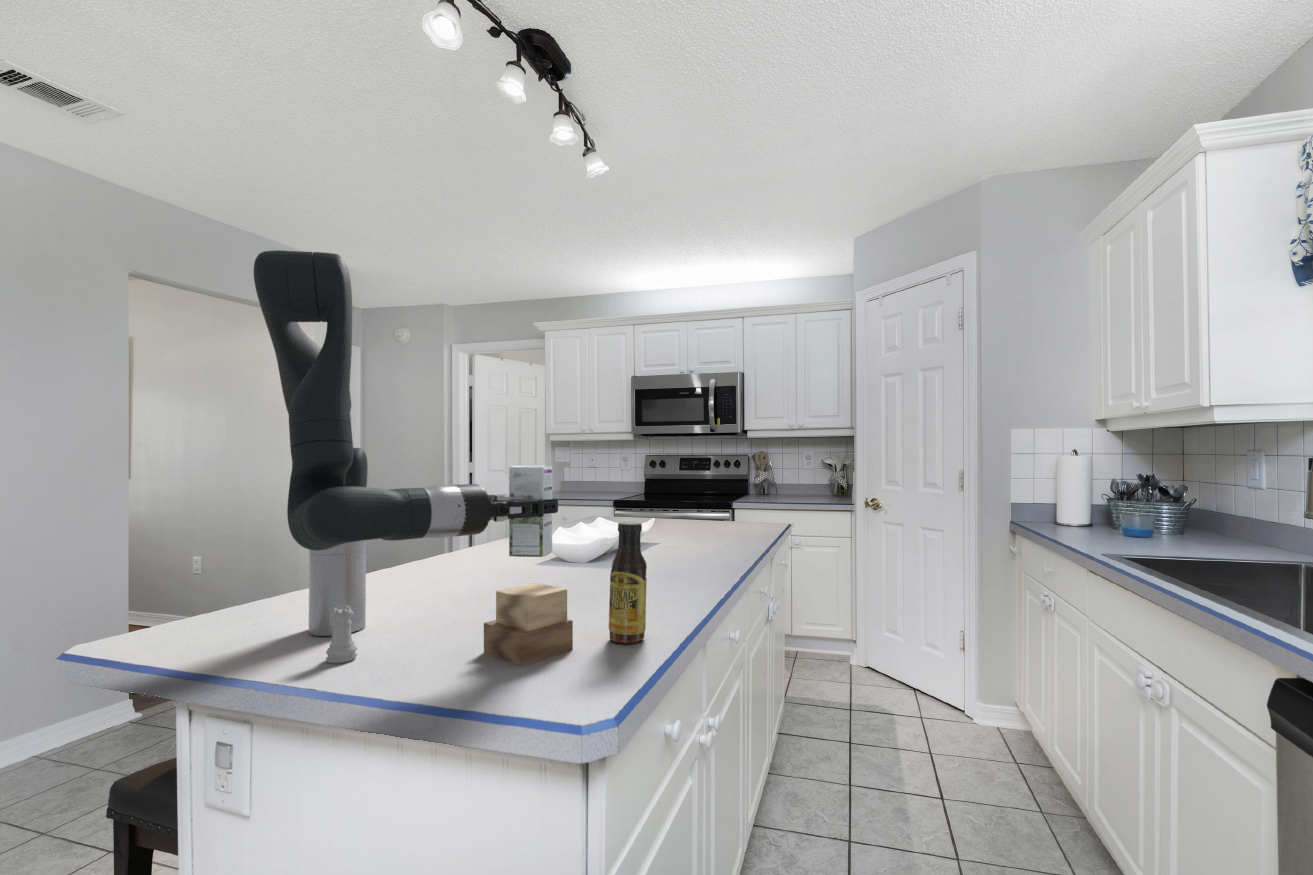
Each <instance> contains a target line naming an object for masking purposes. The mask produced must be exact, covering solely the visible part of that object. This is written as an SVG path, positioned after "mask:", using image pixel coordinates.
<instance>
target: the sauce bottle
mask: <svg viewBox="0 0 1313 875" xmlns="http://www.w3.org/2000/svg"><path fill="white" fill-rule="evenodd" d="M617 526H618V527H617V531H618V545H617V546H618V548H617V551H616V553H615V554H616V555H615V556H614V558H613V560H612V564H611V569H610V577H609V603H608V604H609V609H608V610H609V612H608V630H609V640H611V641H612V642H614V643H617V644H630V645H631V644H636V643H640V642H641V641H643V640H644V638H645V632H646V624H647V623H646V621H647V619H646V618H647V617H646V616H647V584H648V583H647V569H648V567H647V561H646V559H645V557H644V556H643V555H642V551H641V547H642V545H641V533H642V530H643V524H642V523H641V522H637V521H619V522H618V525H617Z"/></svg>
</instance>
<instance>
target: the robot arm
mask: <svg viewBox="0 0 1313 875" xmlns="http://www.w3.org/2000/svg"><path fill="white" fill-rule="evenodd" d="M350 275H351V274H350V271H349V268H348V265H347V263H346V261H345V259H344V257H342V255H340V254H337V253H331V252H321V251H301V250H299V251H297V250H281V249H279V250H278V249H277V250H265V251H261V252H259V253H258V254H257V256H256V258H255V260H254V264H253V281H254V287H255V291H256V297H257V299H258V303H259V306H260V309H261V312H262V315H263V319H264V321H265V325H266V328H267V330H268V333H269V337H270V340H271V343H272V346H273V349H274V353H275V357H276V361H277V367H278V372H279V378H280V384H281V390H282V396H283V398H284V404H285V407H286V411H287V414H288V428H289V432H288V433H289V445H290V446H289V448H290V455H291V456H290V457H291V463H292V464H291V473H290V477H289V488H288V496H287V497H288V498H287V510H286V511H287V512H286V514H287V524H288V528H289V531H290V534H291V537H292V538H293V539H294V541H295V543H297V544H298V545H299V546H301V547H302V548H304V549H307V550H309V552H308V553H309V554H308V555H309V556H308V559H309V562H308V563H309V564H308V565H309V567H308V571H309V572H308V635H311V636H315V637H332V635H333V626H332V624H333V619H332V617H331V616H330V615H331V614H332V612H333V609H334V608H335V607H336V608H337V610H338V607H340V606H342V609H345V606H348V607H351V610H352V612H353V615H352V616H351V618H350V621H351V622H352V623H351V633H354V632H357V631H360V630H362V629H365V627H366V614H367V613H366V609H367V608H366V607H367V605H366V603H367V602H366V601H367V599H366V596H367V593H366V592H367V590H366V589H367V582H366V581H367V580H366V579H367V577H366V576H367V568H366V567H367V551H366V550H367V546H366V545H367V544H366V543H367V541H369V540H378V539H381V540H383V541H406V540H415V539H417V540H418V539H443V538H453V537H454V538H455V537H463V536H474V535H480V534H481V533H483V532H484V531H485V530H486V528H487V527H488V525H489V522H490V521H493V522H495V523H496V522H505V521H507V520H508V521H509V520H514V519H523V518H529V517H541V516H544V514H549V513H552V514H556V513H558V511H559V500H558V499H557V498H552V499H544V500H541V499H534V500H525V499H524V497H509V496H505V495H503V494H501V495H500V494H497V495H496V494H488V492H487V491H486V490H485V488H484V487H483V486H482V485H480V484H477V483H471V484H470V483H469V484H467V483H466V484H441V485H440V484H438V485H430V486H423V487H408V488H406V487H405V488H404V487H403V488H401V487H400V488H393V489H385V488H377V487H369V486H368V457H367V456H368V455H367V454H366V452H365V450H364V449H363V448H360V447H354V443H353V431H352V419H351V418H352V417H351V410H352V399H351V391H350V390H351V389H350V388H351V386H350V384H351V383H350V382H351V369H352V368H351V366H352V354H353V353H352V352H353V351H352V348H353V347H352V346H353V293H352V283H351V277H350ZM299 323H326V332H325V338H324V342H323V345H322V346H321V347H320V346H319V345H318V344H317V343H316V342H314V340H312V339H311V338H310V337H309V335H307V334H306V333H305V331H304V330H303V329H302V327H301V326H300V324H299ZM512 500H517V501H512ZM531 505H532V512H531Z"/></svg>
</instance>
